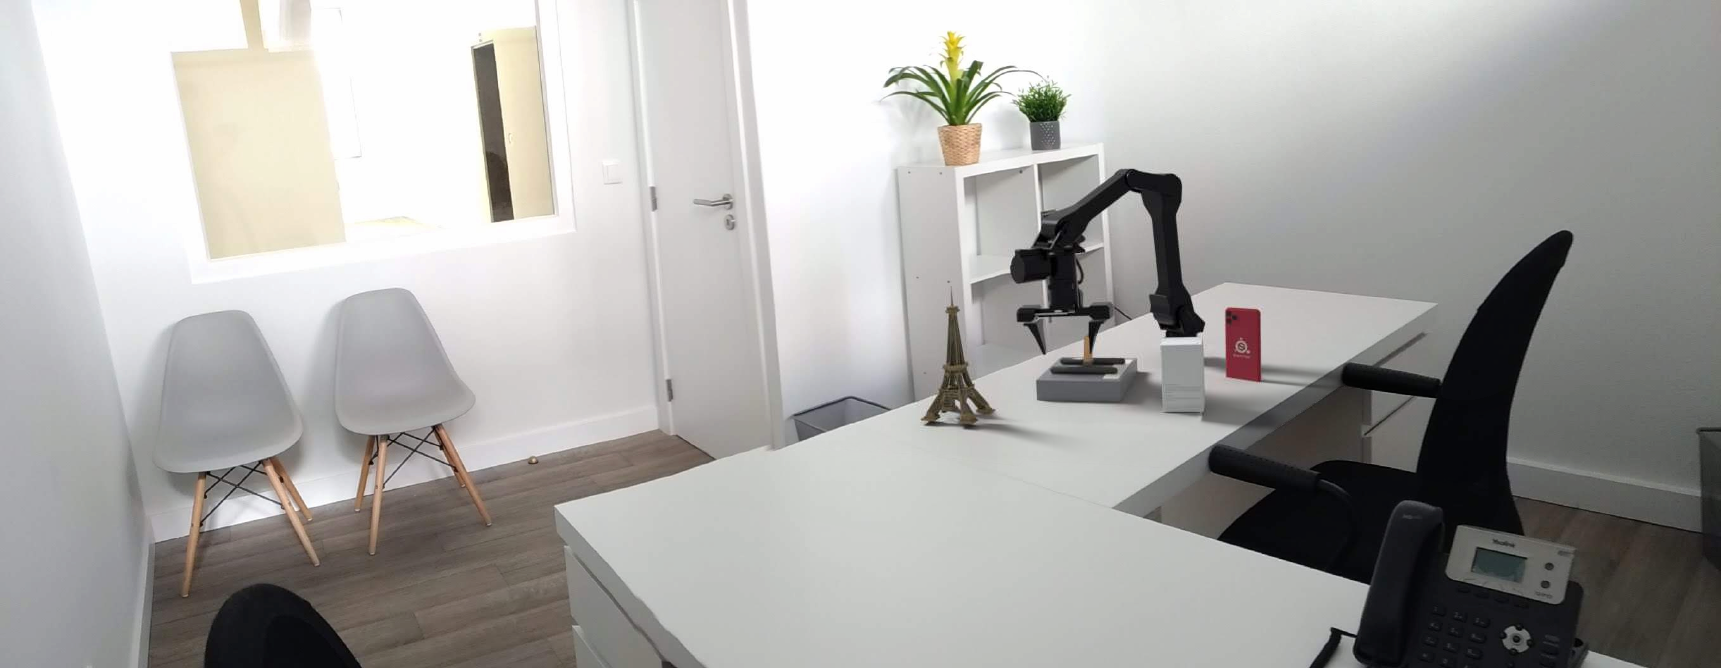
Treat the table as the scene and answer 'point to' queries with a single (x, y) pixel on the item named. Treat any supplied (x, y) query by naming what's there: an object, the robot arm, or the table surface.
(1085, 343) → the breaker lever
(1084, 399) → the breaker panel
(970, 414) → the eiffel tower
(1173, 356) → the supplement box
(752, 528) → the table surface
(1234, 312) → the smartphone
